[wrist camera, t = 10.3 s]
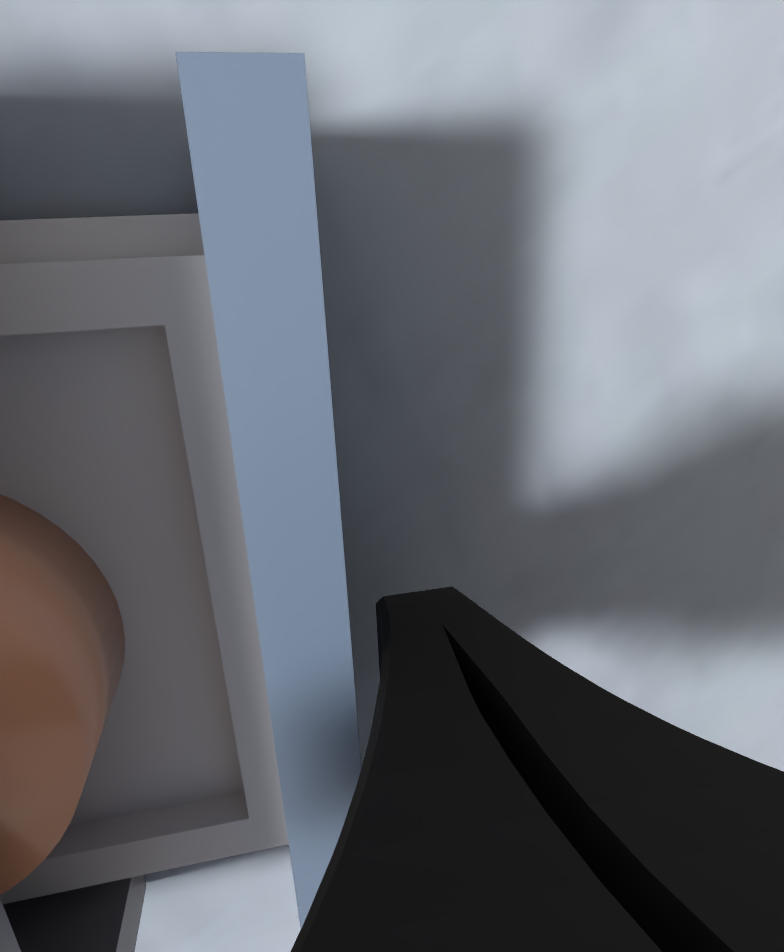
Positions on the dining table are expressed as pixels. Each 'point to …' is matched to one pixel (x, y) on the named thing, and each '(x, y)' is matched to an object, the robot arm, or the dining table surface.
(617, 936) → the robot arm
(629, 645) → the dining table surface
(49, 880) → the tray
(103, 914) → the box
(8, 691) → the cylinder
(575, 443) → the dining table surface
